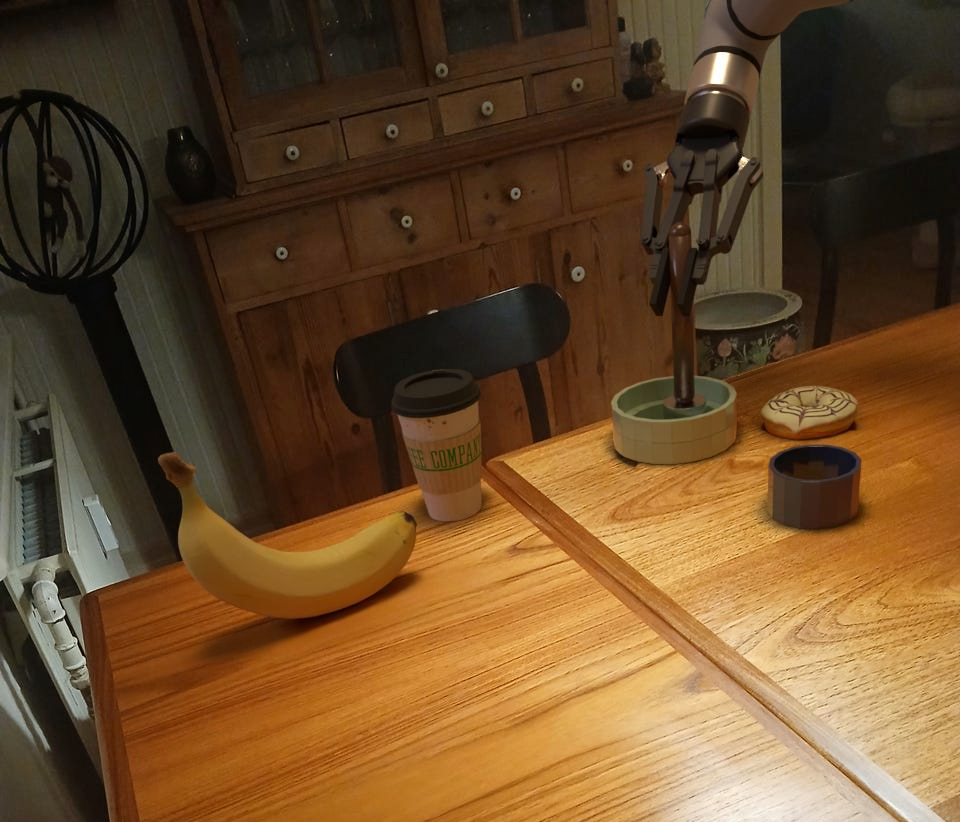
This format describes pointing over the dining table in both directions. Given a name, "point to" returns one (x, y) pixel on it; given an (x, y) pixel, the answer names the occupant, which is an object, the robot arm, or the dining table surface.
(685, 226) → the wooden pestle
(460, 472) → the coffee cup
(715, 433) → the bowl
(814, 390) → the decorated donut
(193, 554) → the banana
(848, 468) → the crock
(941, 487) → the dining table surface
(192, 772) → the dining table surface
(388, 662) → the dining table surface
